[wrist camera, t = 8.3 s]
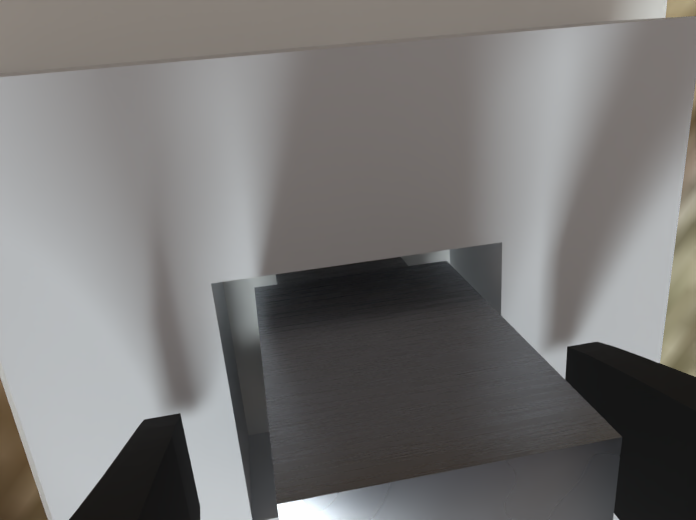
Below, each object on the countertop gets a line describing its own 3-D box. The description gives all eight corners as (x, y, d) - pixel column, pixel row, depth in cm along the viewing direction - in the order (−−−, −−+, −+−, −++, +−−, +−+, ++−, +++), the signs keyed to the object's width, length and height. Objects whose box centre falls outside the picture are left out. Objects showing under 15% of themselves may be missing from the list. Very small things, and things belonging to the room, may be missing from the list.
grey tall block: (423, 375, 16) (596, 673, 8) (271, 401, 15) (312, 747, 8) (418, 232, 14) (622, 437, 7) (250, 254, 14) (277, 505, 6)
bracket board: (593, 512, 20) (675, 619, 16) (99, 619, 18) (65, 772, 14) (648, -101, 14) (804, -153, 10) (-118, -59, 11) (-286, -108, 8)
